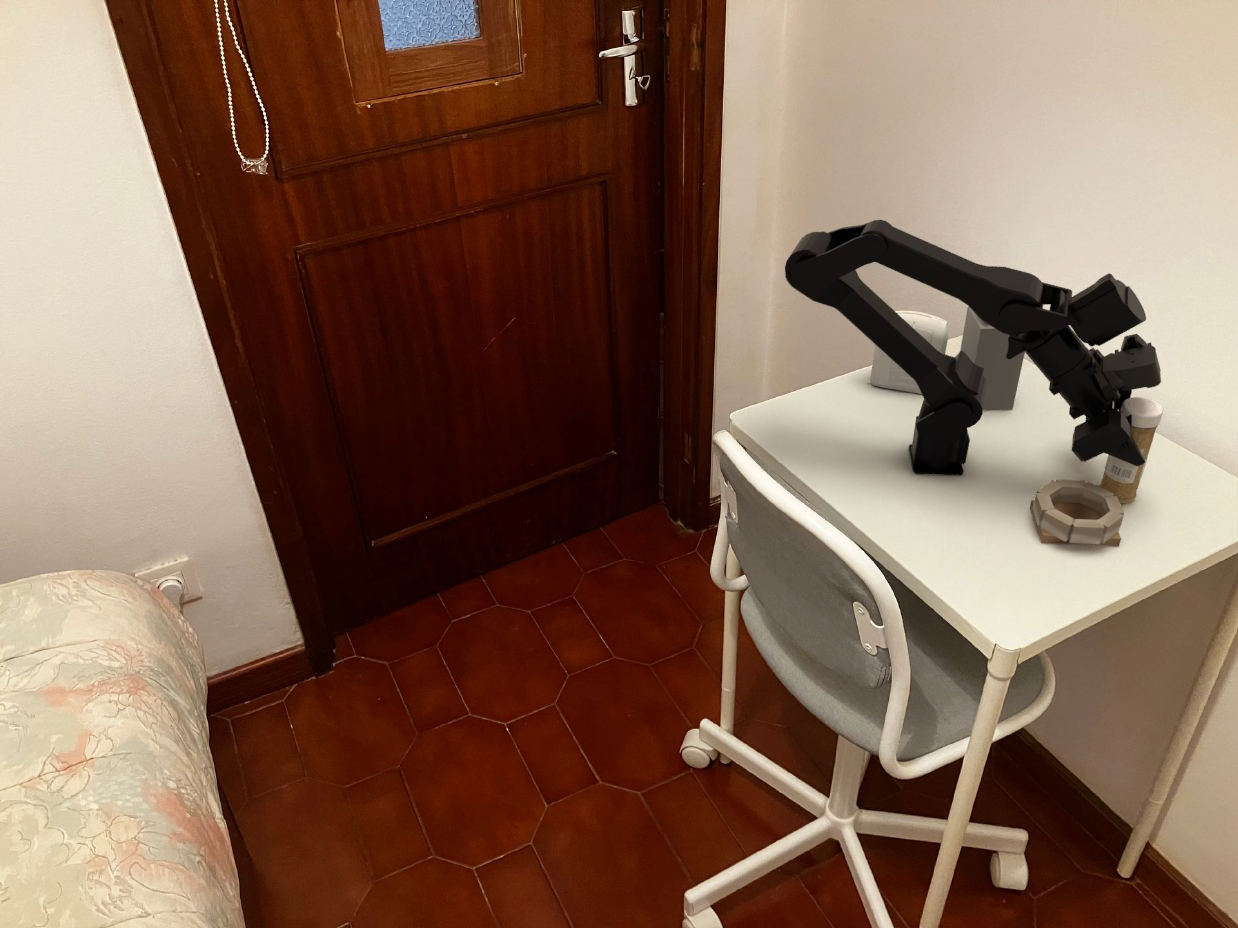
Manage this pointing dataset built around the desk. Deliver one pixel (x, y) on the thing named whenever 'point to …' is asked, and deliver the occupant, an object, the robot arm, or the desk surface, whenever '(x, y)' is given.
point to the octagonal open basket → (1077, 514)
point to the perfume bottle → (992, 361)
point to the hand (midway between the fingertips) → (1141, 453)
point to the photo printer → (889, 371)
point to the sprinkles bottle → (1145, 420)
